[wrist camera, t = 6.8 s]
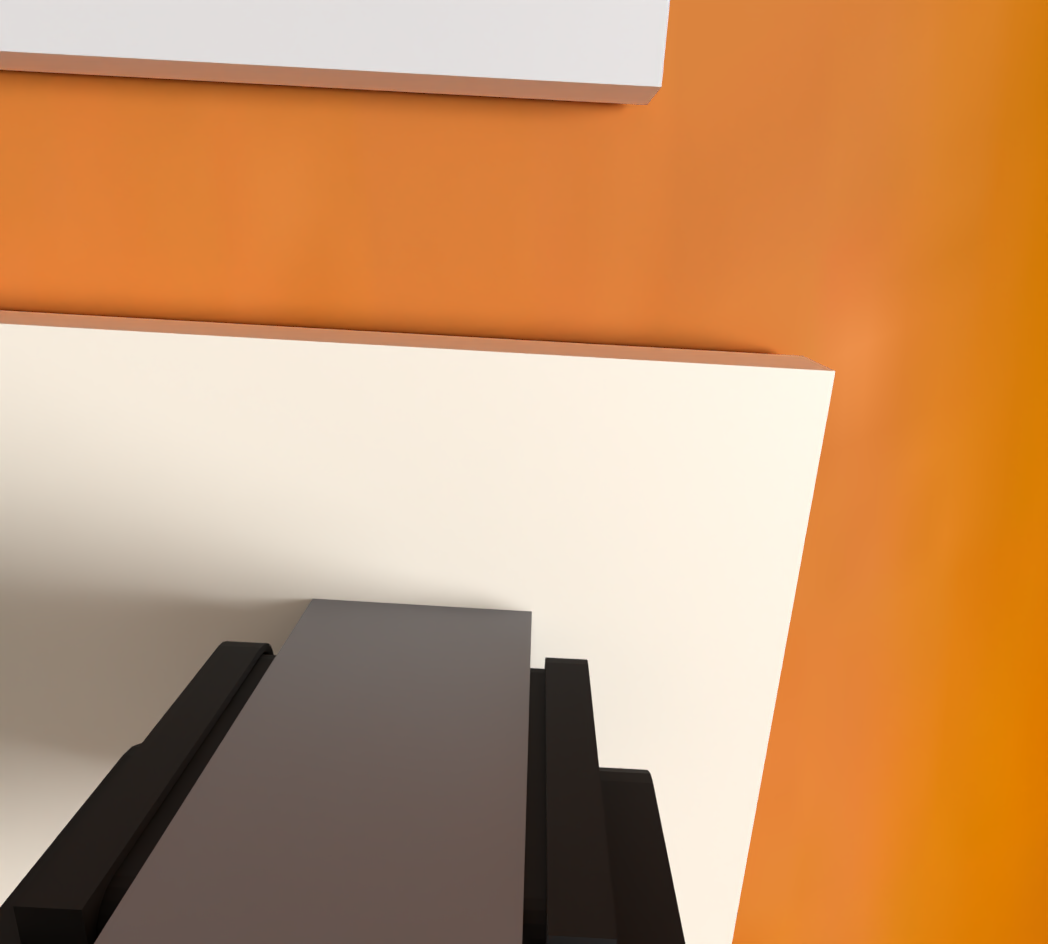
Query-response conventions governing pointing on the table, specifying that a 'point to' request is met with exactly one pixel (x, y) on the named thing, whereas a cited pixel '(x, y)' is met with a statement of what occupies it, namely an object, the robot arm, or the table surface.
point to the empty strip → (354, 44)
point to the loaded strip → (389, 605)
